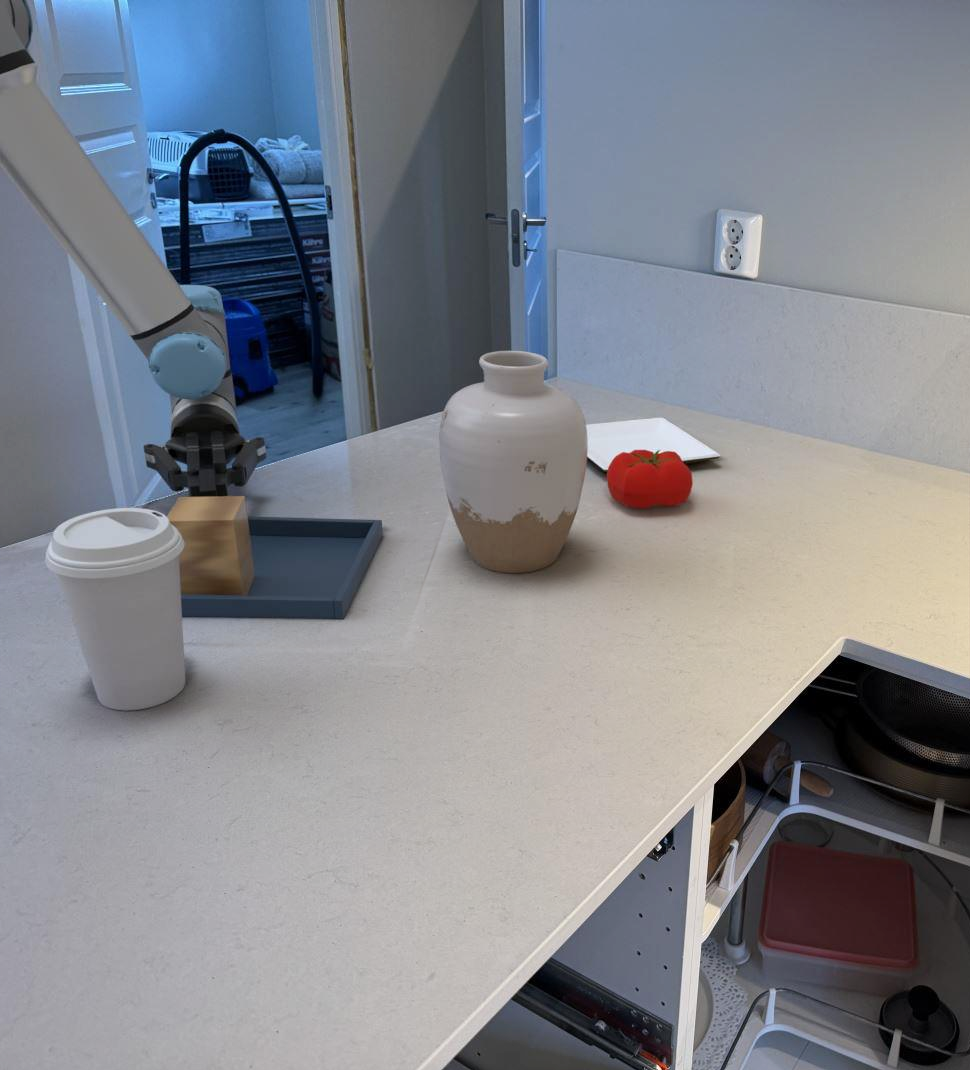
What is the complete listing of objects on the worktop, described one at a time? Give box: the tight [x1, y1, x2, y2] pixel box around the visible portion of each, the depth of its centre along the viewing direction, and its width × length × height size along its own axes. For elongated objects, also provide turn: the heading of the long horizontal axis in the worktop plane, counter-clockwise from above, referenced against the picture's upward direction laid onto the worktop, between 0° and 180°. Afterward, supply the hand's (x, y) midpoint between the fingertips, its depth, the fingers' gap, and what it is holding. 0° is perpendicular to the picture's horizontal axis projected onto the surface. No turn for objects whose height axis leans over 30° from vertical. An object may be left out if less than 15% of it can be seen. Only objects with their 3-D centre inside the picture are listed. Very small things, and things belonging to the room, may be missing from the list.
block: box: [167, 495, 255, 596], centre depth 97 cm, size 6×6×9 cm
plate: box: [586, 417, 721, 473], centre depth 147 cm, size 19×19×2 cm
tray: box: [163, 513, 384, 620], centre depth 103 cm, size 24×20×2 cm
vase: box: [438, 350, 588, 574], centre depth 108 cm, size 16×16×23 cm
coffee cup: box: [44, 507, 186, 711], centre depth 81 cm, size 10×10×15 cm
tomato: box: [606, 450, 694, 510], centre depth 129 cm, size 10×11×7 cm
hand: (209, 502), depth 103 cm, fingers closed
